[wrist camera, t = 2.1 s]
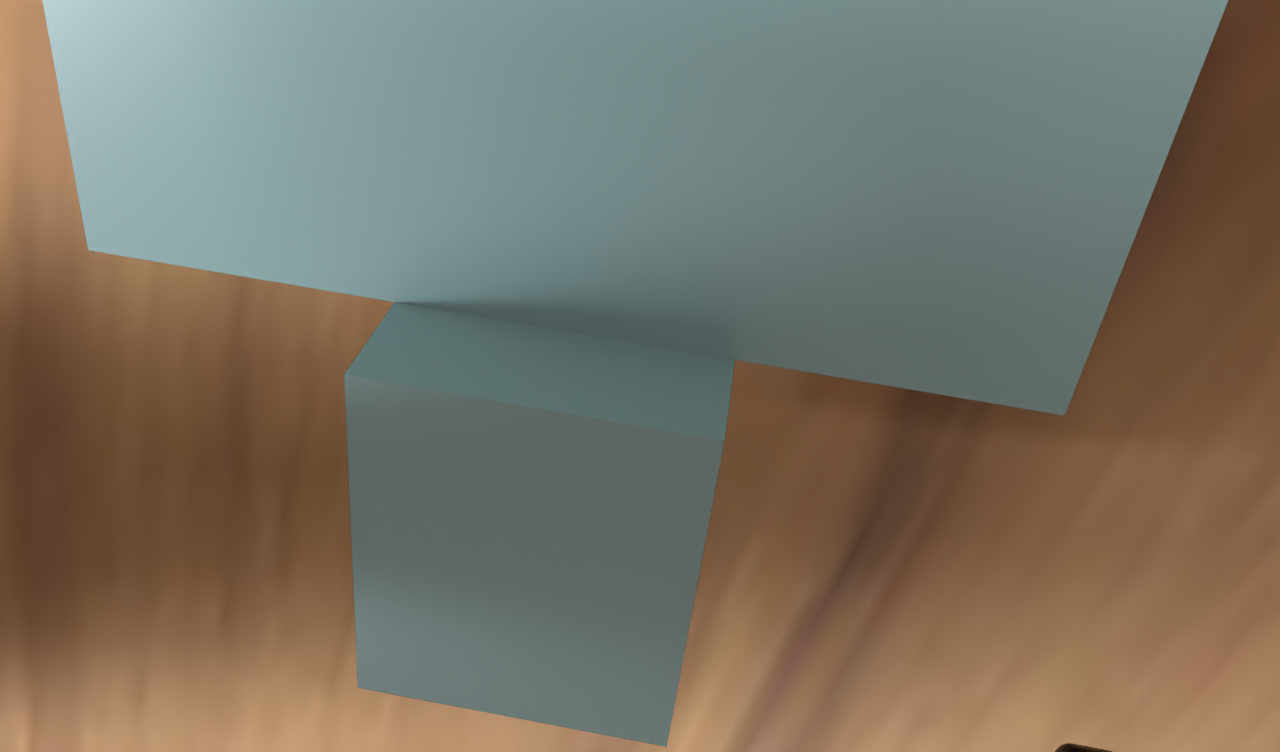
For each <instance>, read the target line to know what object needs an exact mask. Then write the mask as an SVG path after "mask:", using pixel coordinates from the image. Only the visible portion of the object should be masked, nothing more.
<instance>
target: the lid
mask: <svg viewBox="0 0 1280 752" xmlns="http://www.w3.org/2000/svg"><path fill="white" fill-rule="evenodd" d="M1227 3H1228V0H43V6H44V11H45V17H46V22H47V27H48V33H49V38H50V44H51V49H52V55H53V60H54V66H55V71H56V77H57V82H58V88H59V93H60V99H61V104H62V110H63V115H64V121H65V126H66V132H67V137H68V142H69V148H70V153H71V159H72V164H73V170H74V175H75V181H76V186H77V192H78V197H79V203H80V208H81V214H82V219H83V225H84V230H85V236H86V241H87V247H88V250H90V251H96V252H102V253H108V254H113V255H119V256H125V257H131V258H137V259H143V260H149V261H155V262H161V263H167V264H172V265H178V266H184V267H190V268H196V269H202V270H208V271H214V272H220V273H226V274H231V275H237V276H243V277H249V278H255V279H261V280H267V281H273V282H279V283H285V284H290V285H296V286H302V287H308V288H314V289H320V290H326V291H332V292H338V293H344V294H350V295H355V296H361V297H367V298H373V299H379V300H385V301H391V302H394V304H393V305H392V307H391V308H390V310H389V311H388V313H387V314H386V315H385V317H384V318H383V320H382V321H381V323H380V324H379V325H378V327H377V328H376V330H375V331H374V333H373V334H372V335H371V337H370V338H369V340H368V341H367V343H366V344H365V346H364V347H363V348H362V350H361V351H360V353H359V354H358V356H357V357H356V358H355V360H354V361H353V363H352V364H351V366H350V367H349V368H348V370H347V371H346V373H345V374H344V381H345V404H346V427H347V450H348V472H349V495H350V518H351V541H352V564H353V586H354V609H355V632H356V655H357V678H358V688H362V689H367V690H373V691H378V692H383V693H388V694H393V695H399V696H404V697H409V698H414V699H420V700H425V701H430V702H435V703H441V704H446V705H451V706H456V707H461V708H467V709H472V710H477V711H482V712H488V713H493V714H498V715H503V716H509V717H514V718H519V719H524V720H529V721H535V722H540V723H545V724H550V725H556V726H561V727H566V728H571V729H577V730H582V731H587V732H592V733H597V734H603V735H608V736H613V737H618V738H624V739H629V740H634V741H639V742H645V743H650V744H655V745H660V746H665V747H666V746H667V741H668V736H669V731H670V725H671V720H672V715H673V709H674V704H675V699H676V694H677V688H678V683H679V678H680V673H681V667H682V662H683V657H684V651H685V646H686V641H687V636H688V630H689V625H690V620H691V615H692V609H693V604H694V599H695V594H696V588H697V583H698V578H699V572H700V567H701V562H702V557H703V551H704V546H705V541H706V536H707V530H708V525H709V520H710V514H711V509H712V504H713V499H714V493H715V488H716V483H717V478H718V472H719V467H720V462H721V457H722V451H723V446H724V441H725V433H726V425H727V418H728V410H729V403H730V395H731V387H732V380H733V372H734V365H735V360H739V361H745V362H751V363H757V364H763V365H769V366H774V367H780V368H786V369H792V370H798V371H804V372H810V373H816V374H822V375H828V376H833V377H839V378H845V379H851V380H857V381H863V382H869V383H875V384H881V385H887V386H892V387H898V388H904V389H910V390H916V391H922V392H928V393H934V394H940V395H946V396H951V397H957V398H963V399H969V400H975V401H981V402H987V403H993V404H999V405H1005V406H1011V407H1016V408H1022V409H1028V410H1034V411H1040V412H1046V413H1052V414H1058V415H1064V416H1065V413H1066V411H1067V408H1068V406H1069V403H1070V401H1071V398H1072V396H1073V393H1074V391H1075V388H1076V386H1077V383H1078V381H1079V378H1080V375H1081V373H1082V370H1083V368H1084V365H1085V363H1086V360H1087V358H1088V355H1089V353H1090V350H1091V348H1092V345H1093V342H1094V340H1095V337H1096V335H1097V332H1098V330H1099V327H1100V325H1101V322H1102V320H1103V317H1104V315H1105V312H1106V309H1107V307H1108V304H1109V302H1110V299H1111V297H1112V294H1113V292H1114V289H1115V287H1116V284H1117V282H1118V279H1119V277H1120V274H1121V271H1122V269H1123V266H1124V264H1125V261H1126V259H1127V256H1128V254H1129V251H1130V249H1131V246H1132V244H1133V241H1134V238H1135V236H1136V233H1137V231H1138V228H1139V226H1140V223H1141V221H1142V218H1143V216H1144V213H1145V211H1146V208H1147V205H1148V203H1149V200H1150V198H1151V195H1152V193H1153V190H1154V188H1155V185H1156V183H1157V180H1158V178H1159V175H1160V173H1161V170H1162V167H1163V165H1164V162H1165V160H1166V157H1167V155H1168V152H1169V150H1170V147H1171V145H1172V142H1173V140H1174V137H1175V134H1176V132H1177V129H1178V127H1179V124H1180V122H1181V119H1182V117H1183V114H1184V112H1185V109H1186V107H1187V104H1188V102H1189V99H1190V96H1191V94H1192V91H1193V89H1194V86H1195V84H1196V81H1197V79H1198V76H1199V74H1200V71H1201V69H1202V66H1203V63H1204V61H1205V58H1206V56H1207V53H1208V51H1209V48H1210V46H1211V43H1212V41H1213V38H1214V36H1215V33H1216V30H1217V28H1218V25H1219V23H1220V20H1221V18H1222V15H1223V13H1224V10H1225V8H1226V5H1227Z"/></svg>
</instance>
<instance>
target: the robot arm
mask: <svg viewBox="0 0 1280 752" xmlns="http://www.w3.org/2000/svg"><path fill="white" fill-rule="evenodd" d="M1055 752H1112V751H1108V750H1103V749H1098V748H1093V747H1087V746H1082V745H1077V744H1071V743H1069V744H1063V745H1061V746H1060V747H1059V748H1057V750H1056V751H1055Z"/></svg>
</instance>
